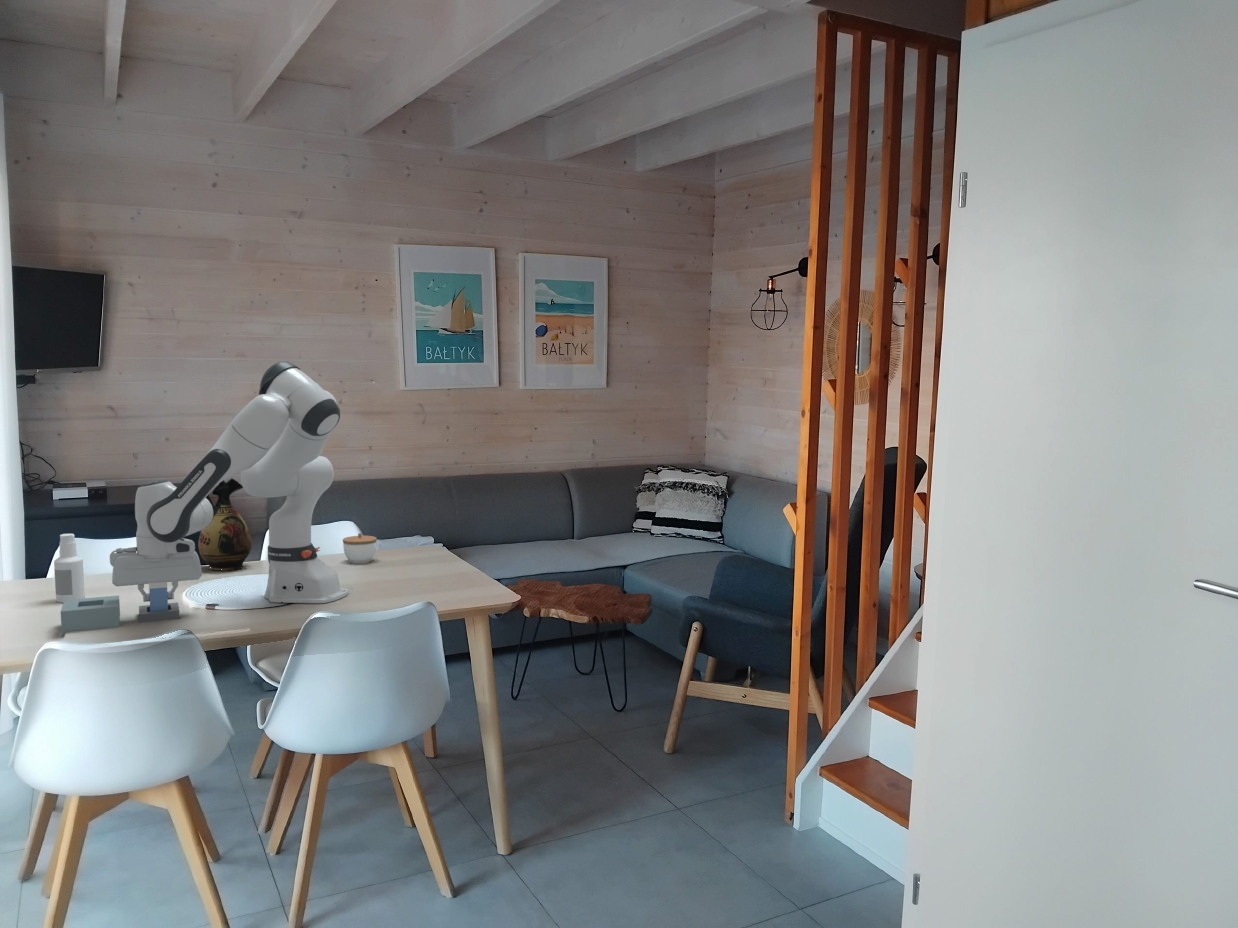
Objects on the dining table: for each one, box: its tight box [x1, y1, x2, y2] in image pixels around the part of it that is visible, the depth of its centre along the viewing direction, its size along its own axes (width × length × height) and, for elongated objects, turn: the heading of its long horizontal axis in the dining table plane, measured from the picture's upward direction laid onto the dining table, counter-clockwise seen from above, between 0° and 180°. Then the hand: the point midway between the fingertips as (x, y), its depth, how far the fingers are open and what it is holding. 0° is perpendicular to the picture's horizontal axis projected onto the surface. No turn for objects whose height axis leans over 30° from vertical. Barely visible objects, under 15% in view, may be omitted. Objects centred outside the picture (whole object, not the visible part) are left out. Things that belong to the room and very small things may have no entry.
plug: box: [148, 582, 169, 612], centre depth 240 cm, size 4×4×9 cm
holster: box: [138, 602, 181, 624], centre depth 240 cm, size 9×9×3 cm
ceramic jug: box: [198, 477, 253, 571], centre depth 299 cm, size 17×15×30 cm
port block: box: [60, 594, 121, 637], centre depth 233 cm, size 12×12×6 cm
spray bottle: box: [53, 533, 86, 604], centre depth 259 cm, size 7×7×18 cm
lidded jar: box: [342, 533, 378, 565], centre depth 312 cm, size 11×11×9 cm
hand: (158, 600), depth 240 cm, fingers closed on plug, 4 cm apart
